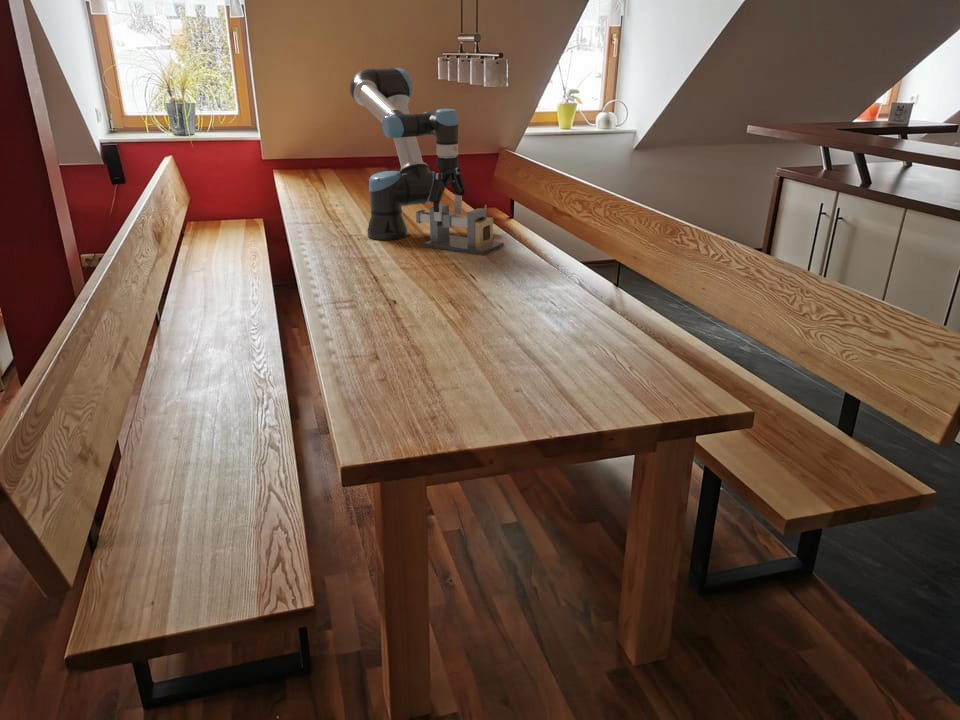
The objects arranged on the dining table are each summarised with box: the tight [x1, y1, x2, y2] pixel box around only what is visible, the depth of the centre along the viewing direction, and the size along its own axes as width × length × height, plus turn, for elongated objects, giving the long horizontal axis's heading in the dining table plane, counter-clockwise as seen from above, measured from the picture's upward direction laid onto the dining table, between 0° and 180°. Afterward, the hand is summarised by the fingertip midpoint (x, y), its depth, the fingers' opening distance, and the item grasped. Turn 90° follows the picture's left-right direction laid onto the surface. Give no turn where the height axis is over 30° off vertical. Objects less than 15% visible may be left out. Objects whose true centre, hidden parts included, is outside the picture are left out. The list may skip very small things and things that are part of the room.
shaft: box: [415, 209, 478, 229], centre depth 269 cm, size 24×4×4 cm, turn 60°
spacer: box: [475, 216, 494, 249], centre depth 263 cm, size 2×9×9 cm, turn 150°
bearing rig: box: [423, 203, 505, 256], centre depth 267 cm, size 25×14×14 cm, turn 60°
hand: (448, 217), depth 269 cm, fingers open, 13 cm apart
